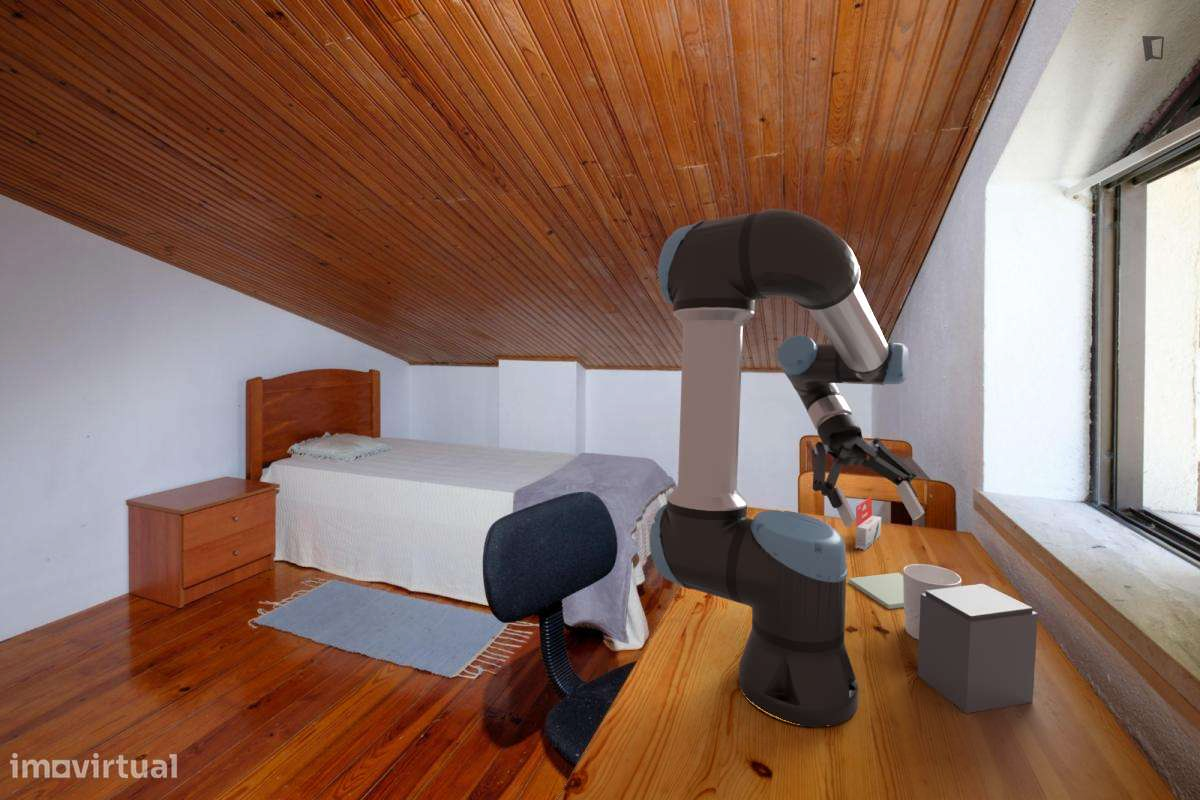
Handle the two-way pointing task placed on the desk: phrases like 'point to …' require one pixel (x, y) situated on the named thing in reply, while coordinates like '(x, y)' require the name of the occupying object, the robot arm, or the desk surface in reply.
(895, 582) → the coaster
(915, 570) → the white cup
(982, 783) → the desk surface
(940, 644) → the block
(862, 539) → the ink cartridge box
